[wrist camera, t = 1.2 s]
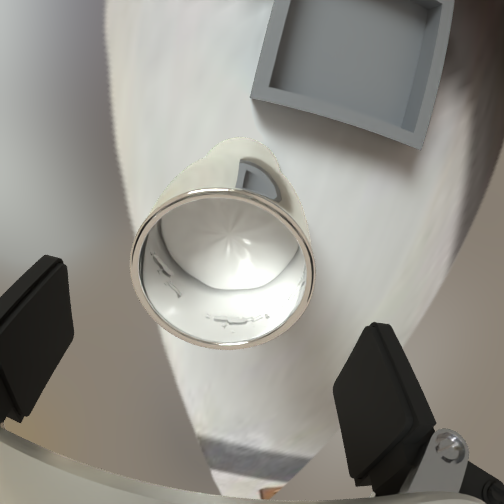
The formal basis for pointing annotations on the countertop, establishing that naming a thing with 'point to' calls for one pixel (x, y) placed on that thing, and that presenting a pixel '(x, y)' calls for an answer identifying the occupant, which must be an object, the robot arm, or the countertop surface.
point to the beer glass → (226, 251)
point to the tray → (357, 62)
